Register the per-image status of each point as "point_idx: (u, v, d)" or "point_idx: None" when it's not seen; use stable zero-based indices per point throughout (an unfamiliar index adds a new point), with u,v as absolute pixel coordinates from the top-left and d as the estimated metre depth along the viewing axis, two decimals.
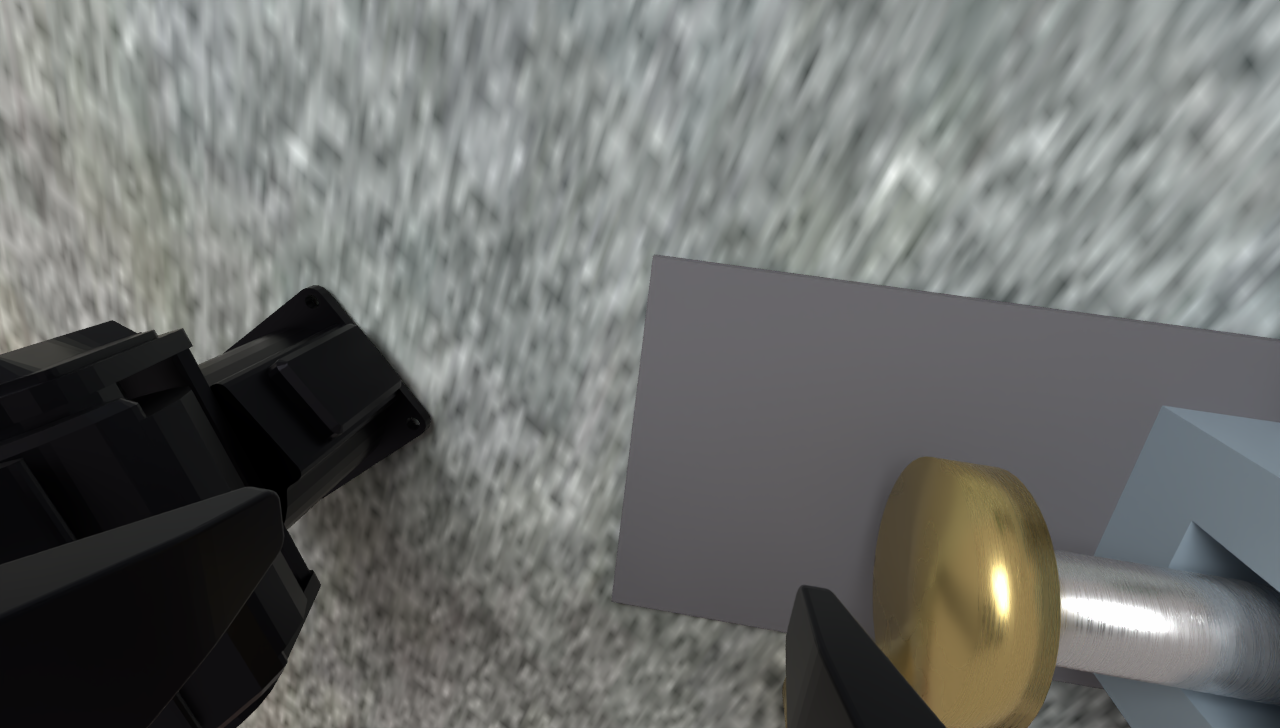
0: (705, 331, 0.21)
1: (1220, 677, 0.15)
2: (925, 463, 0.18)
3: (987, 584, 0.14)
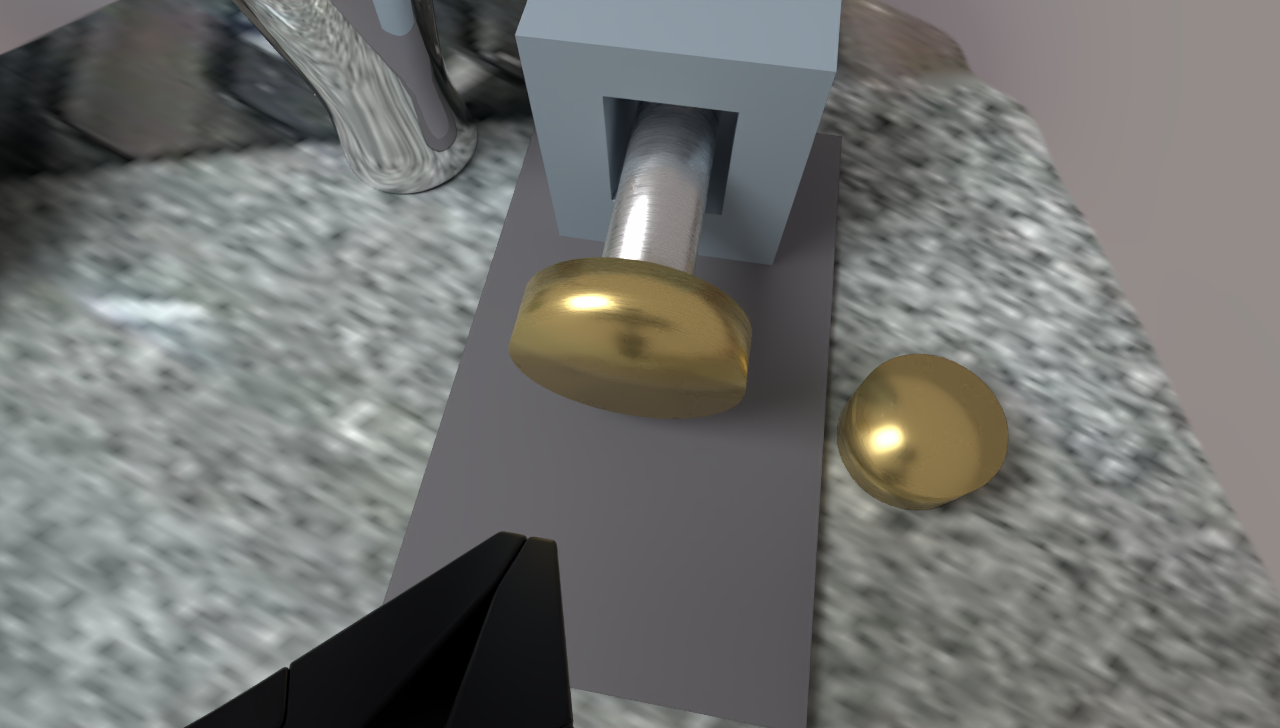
0: None
1: (669, 157, 0.20)
2: (540, 381, 0.20)
3: (538, 315, 0.16)
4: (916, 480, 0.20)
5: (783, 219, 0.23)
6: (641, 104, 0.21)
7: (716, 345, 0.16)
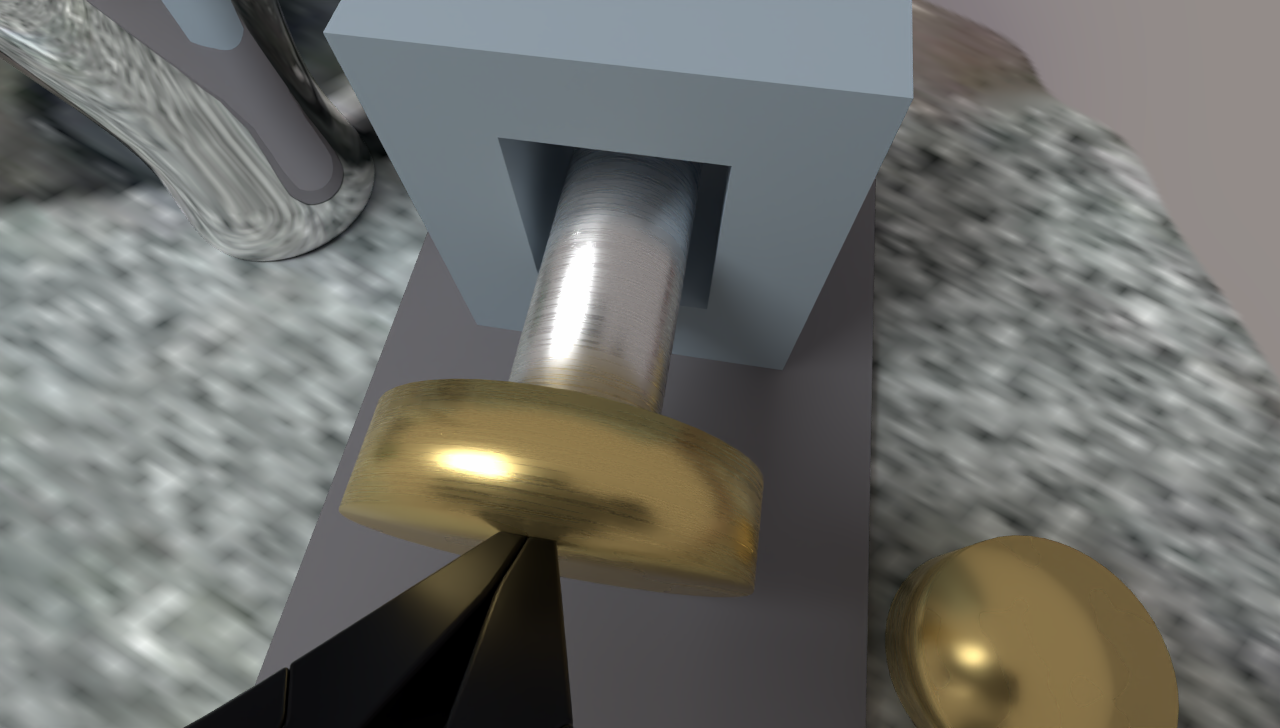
0: None
1: (627, 186, 0.12)
2: (422, 544, 0.12)
3: (367, 488, 0.09)
4: None
5: (801, 317, 0.15)
6: None
7: (700, 547, 0.08)
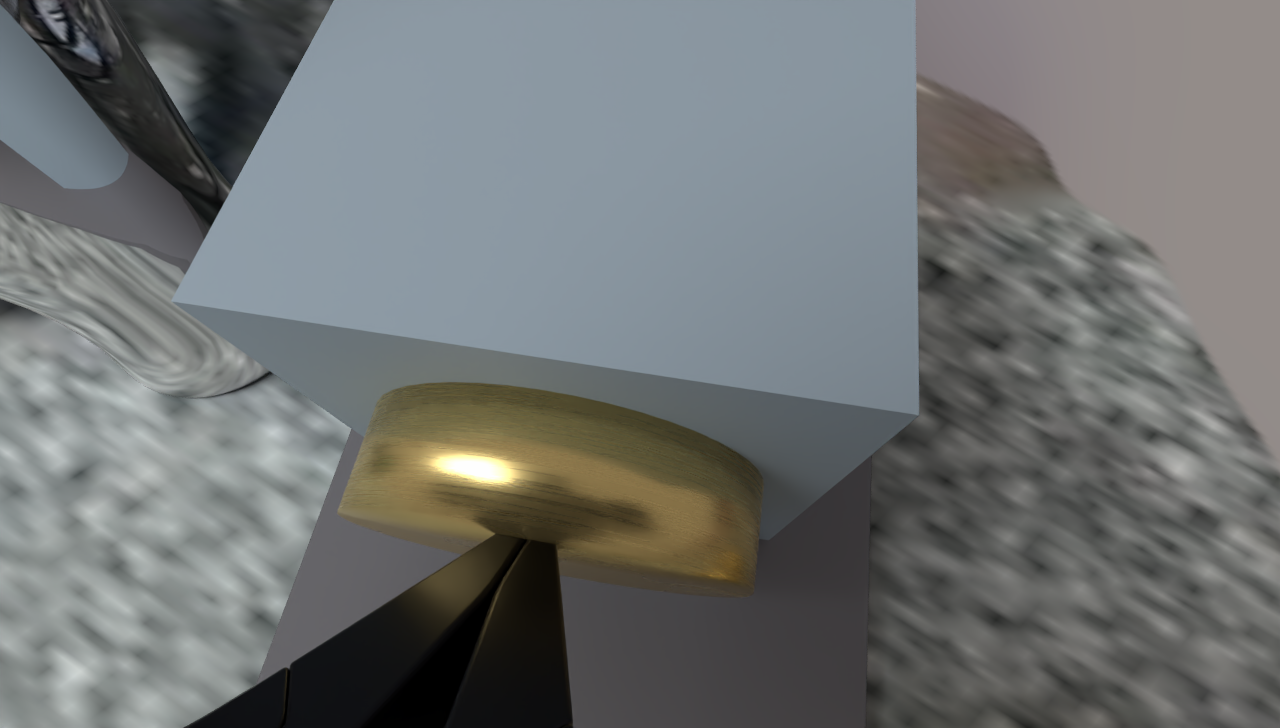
0: None
1: None
2: (422, 543, 0.12)
3: (365, 491, 0.09)
4: None
5: (787, 518, 0.13)
6: None
7: (700, 551, 0.08)
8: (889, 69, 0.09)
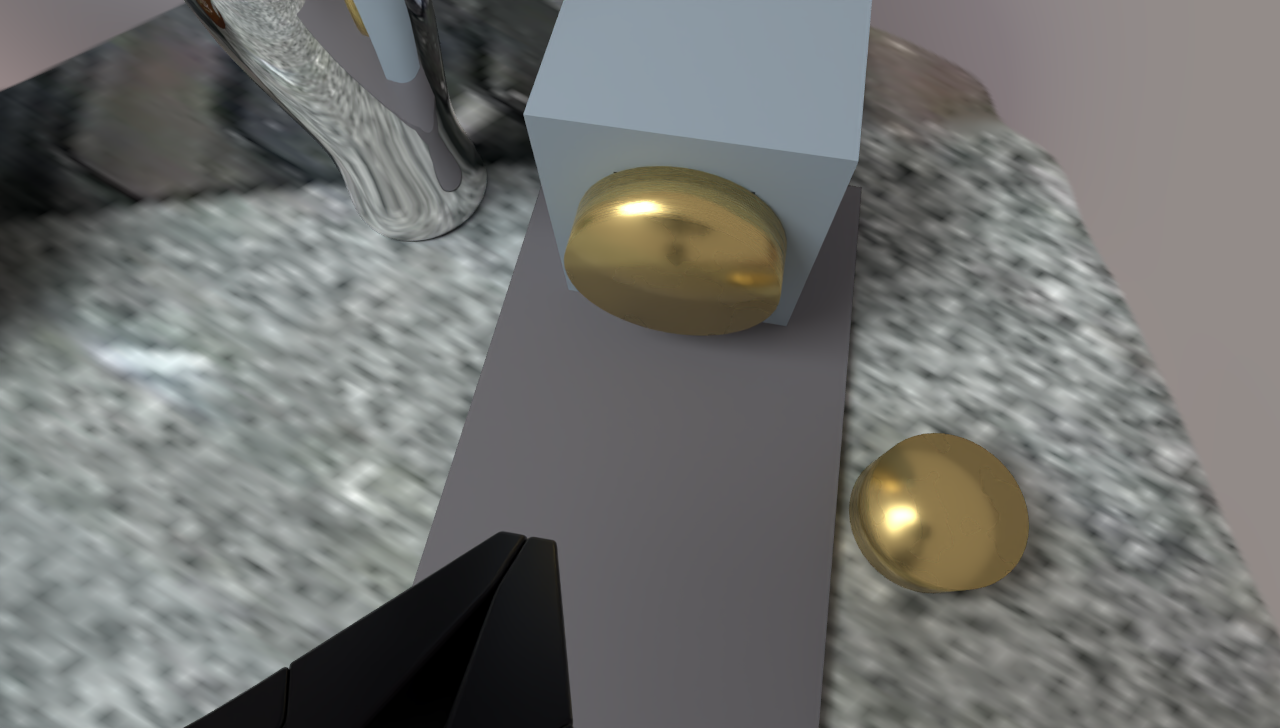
0: None
1: None
2: (588, 295, 0.22)
3: (596, 219, 0.18)
4: (932, 572, 0.19)
5: (799, 287, 0.22)
6: None
7: (757, 247, 0.18)
8: (857, 16, 0.18)
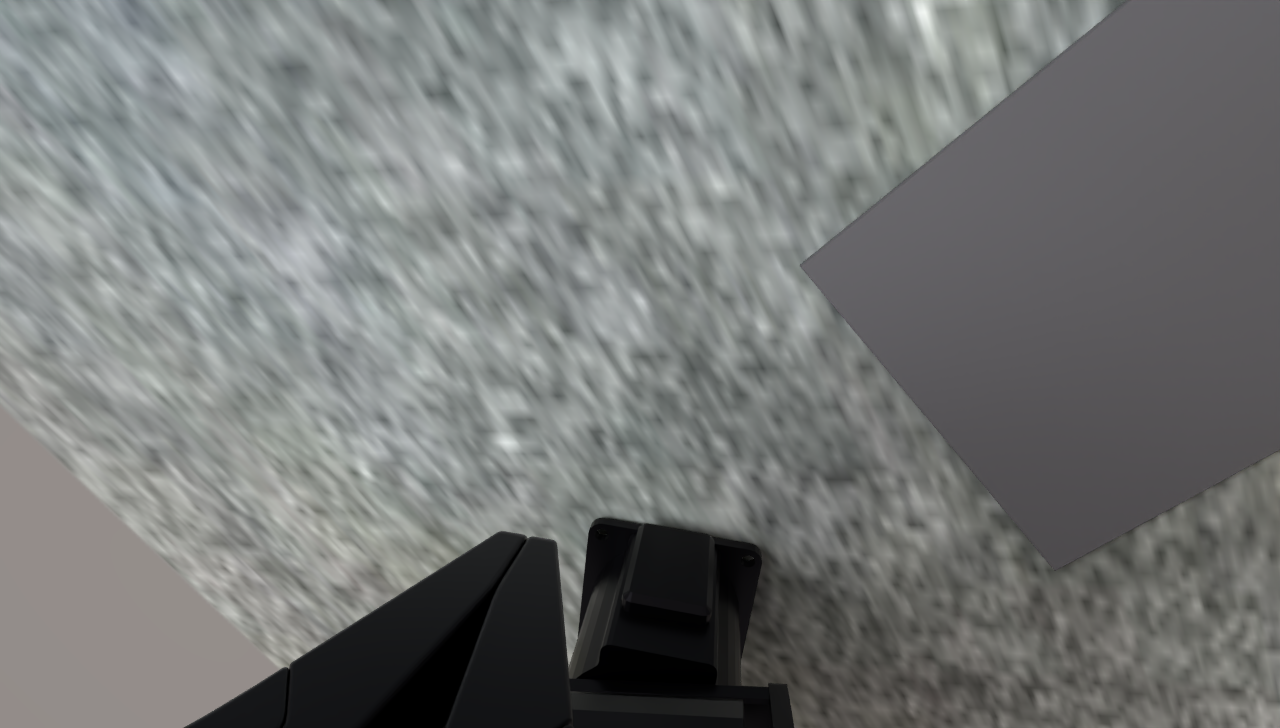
0: (900, 278, 0.19)
1: None
2: None
3: None
4: None
5: None
6: None
7: None
8: None
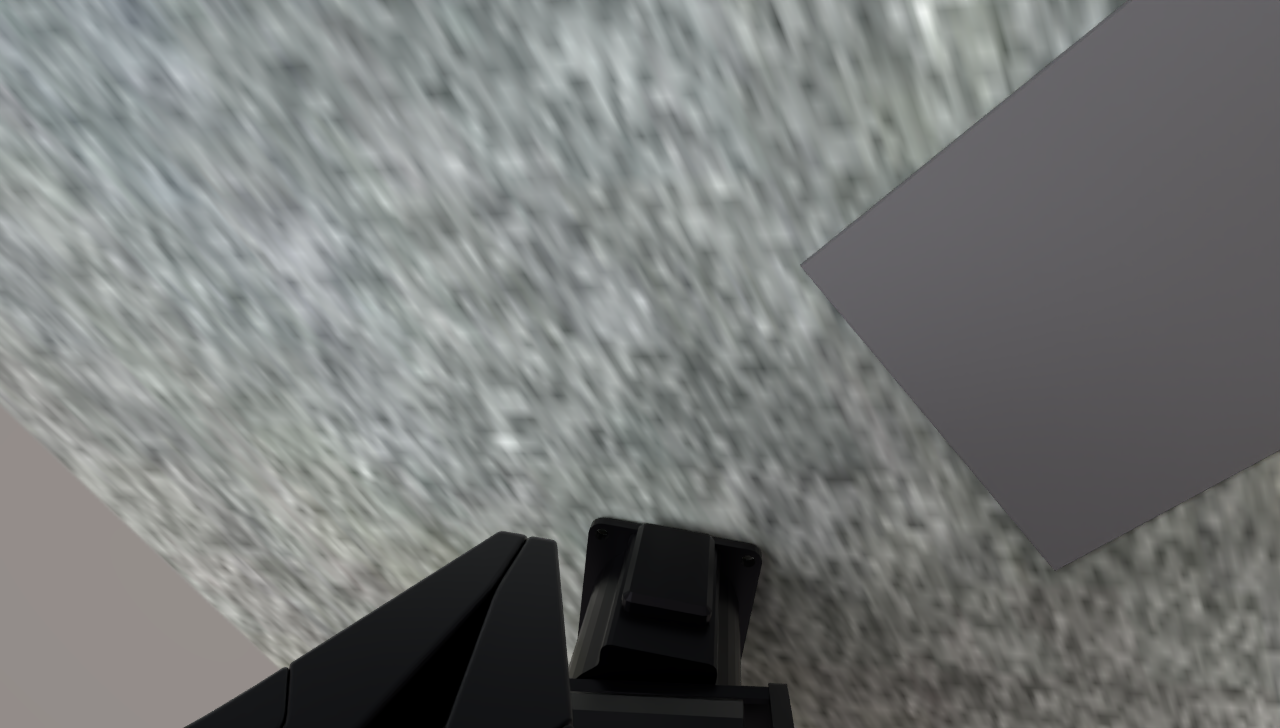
0: (900, 278, 0.19)
1: None
2: None
3: None
4: None
5: None
6: None
7: None
8: None
